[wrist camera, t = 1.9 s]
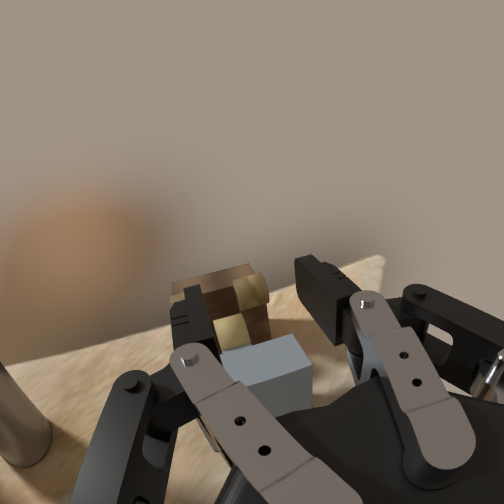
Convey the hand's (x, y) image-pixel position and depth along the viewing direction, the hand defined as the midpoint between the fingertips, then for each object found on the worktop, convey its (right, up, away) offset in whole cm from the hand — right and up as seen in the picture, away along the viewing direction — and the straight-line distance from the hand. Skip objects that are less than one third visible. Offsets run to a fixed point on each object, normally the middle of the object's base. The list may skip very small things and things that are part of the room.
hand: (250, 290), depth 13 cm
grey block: (0, -15, +16) cm, 22 cm away
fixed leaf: (-3, -11, +25) cm, 27 cm away
